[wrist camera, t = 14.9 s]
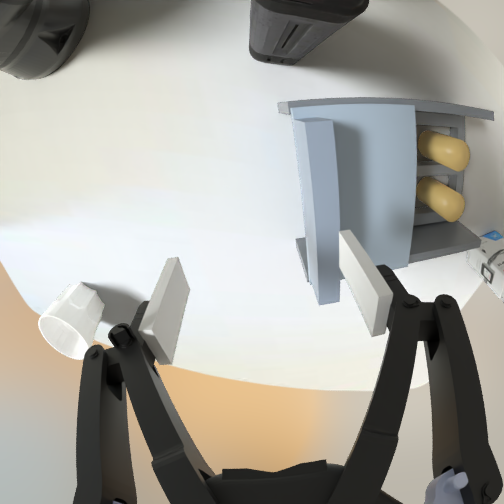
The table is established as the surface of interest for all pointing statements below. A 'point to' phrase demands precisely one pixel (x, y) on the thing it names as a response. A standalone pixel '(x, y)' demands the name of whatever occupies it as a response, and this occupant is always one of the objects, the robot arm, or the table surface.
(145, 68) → the table surface
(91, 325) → the cup
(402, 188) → the lid
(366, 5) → the electronic device
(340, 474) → the robot arm
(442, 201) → the peg
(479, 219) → the table surface
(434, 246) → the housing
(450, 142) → the cylinder
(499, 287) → the ink box
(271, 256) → the table surface
